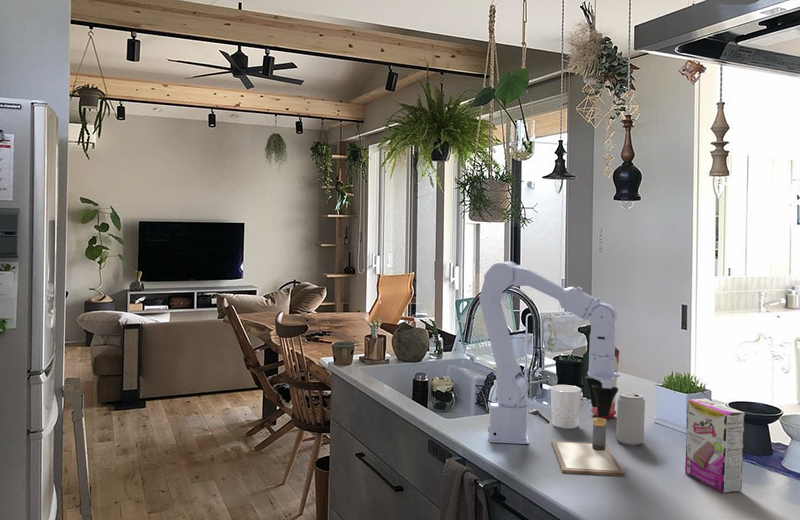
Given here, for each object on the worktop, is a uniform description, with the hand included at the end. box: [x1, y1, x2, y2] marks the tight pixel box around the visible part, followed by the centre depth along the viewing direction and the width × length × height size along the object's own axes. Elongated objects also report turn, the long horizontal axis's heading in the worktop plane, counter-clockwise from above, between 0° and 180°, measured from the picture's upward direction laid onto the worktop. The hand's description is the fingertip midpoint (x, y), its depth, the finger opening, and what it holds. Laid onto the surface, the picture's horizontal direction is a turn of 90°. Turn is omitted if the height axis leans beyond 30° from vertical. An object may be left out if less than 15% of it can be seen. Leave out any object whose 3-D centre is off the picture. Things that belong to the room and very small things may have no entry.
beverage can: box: [615, 391, 646, 447], centre depth 160 cm, size 6×6×12 cm
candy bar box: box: [684, 398, 746, 494], centre depth 135 cm, size 11×5×16 cm, turn 17°
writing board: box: [550, 440, 626, 477], centre depth 149 cm, size 13×19×1 cm
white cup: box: [550, 384, 582, 430], centre depth 174 cm, size 8×8×10 cm
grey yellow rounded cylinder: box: [591, 416, 607, 451], centre depth 154 cm, size 3×3×7 cm
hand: (599, 411), depth 153 cm, fingers open, 7 cm apart
